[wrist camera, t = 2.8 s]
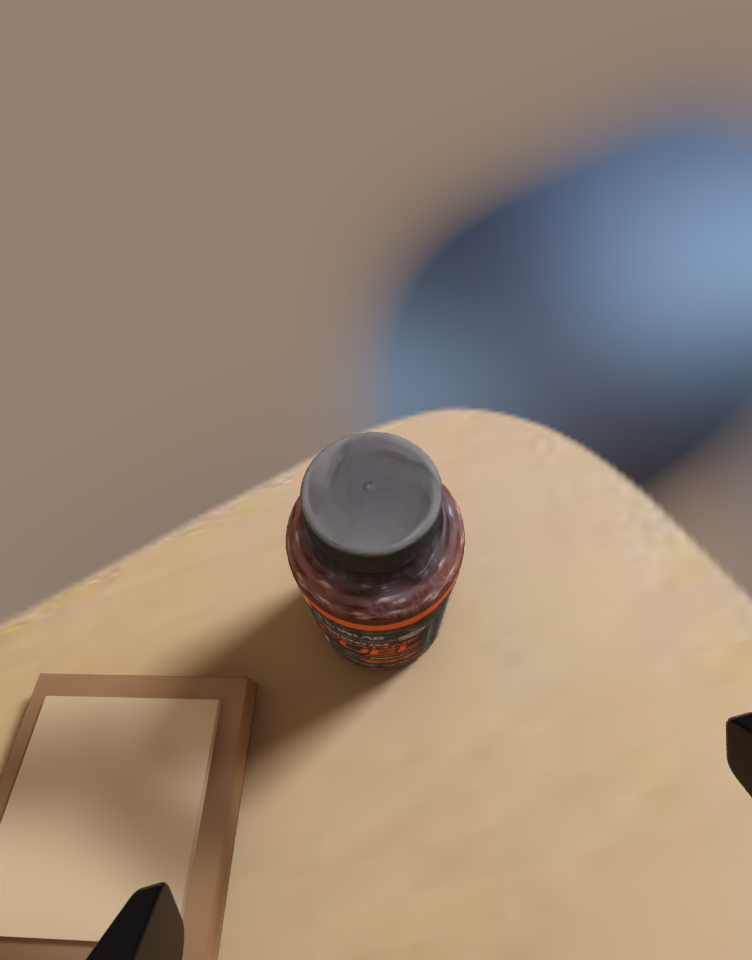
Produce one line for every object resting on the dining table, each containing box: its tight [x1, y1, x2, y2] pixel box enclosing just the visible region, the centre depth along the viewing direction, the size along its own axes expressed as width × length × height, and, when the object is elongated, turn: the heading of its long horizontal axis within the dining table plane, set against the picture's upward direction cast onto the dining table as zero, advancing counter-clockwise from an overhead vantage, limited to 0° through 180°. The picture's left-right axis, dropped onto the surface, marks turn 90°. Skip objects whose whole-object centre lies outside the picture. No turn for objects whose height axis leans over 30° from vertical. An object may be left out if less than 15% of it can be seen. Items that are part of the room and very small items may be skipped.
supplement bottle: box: [286, 432, 465, 670], centre depth 18 cm, size 6×6×11 cm
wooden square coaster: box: [0, 674, 257, 960], centre depth 18 cm, size 9×9×2 cm
